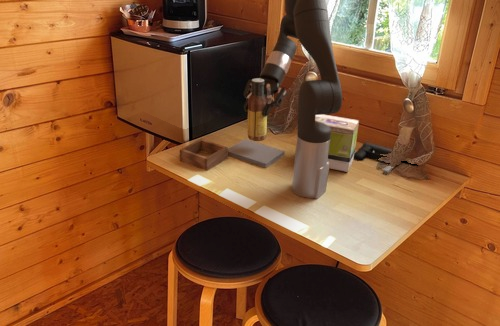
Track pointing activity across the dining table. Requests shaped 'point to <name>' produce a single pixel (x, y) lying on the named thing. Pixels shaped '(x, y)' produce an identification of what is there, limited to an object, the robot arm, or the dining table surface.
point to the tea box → (340, 140)
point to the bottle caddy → (205, 163)
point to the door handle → (373, 153)
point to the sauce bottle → (257, 111)
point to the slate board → (255, 153)
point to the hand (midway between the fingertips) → (254, 112)
